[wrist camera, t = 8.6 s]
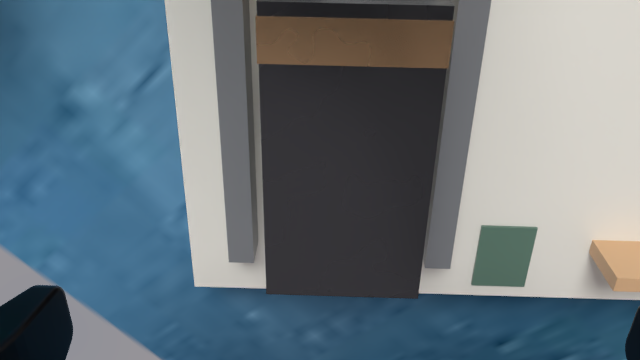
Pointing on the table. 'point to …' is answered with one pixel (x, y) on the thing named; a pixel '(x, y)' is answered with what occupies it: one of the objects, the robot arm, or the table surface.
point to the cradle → (449, 148)
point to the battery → (349, 141)
